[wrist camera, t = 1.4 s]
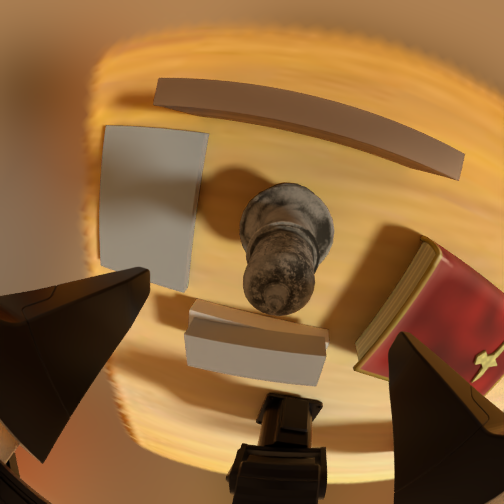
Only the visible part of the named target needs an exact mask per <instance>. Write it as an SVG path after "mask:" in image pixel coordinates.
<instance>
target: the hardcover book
mask: <svg viewBox="0 0 504 504" xmlns="http://www.w3.org/2000/svg"><path fill="white" fill-rule="evenodd" d="M420 240H422V241H423V243H422V245H421V247H420V248H419V250H418V252H417V254H416V255H415V257H414V259H413V260H412V262H411V264H410V265H409V267H408V269H407V270H406V272H405V273H404V275H403V276H402V278H401V280H400V281H399V283H398V284H397V286H396V287H395V289H394V290H393V292H392V293H391V295H390V296H389V298H388V299H387V301H386V302H385V303H384V305H383V306H382V308H381V309H380V311H379V312H378V313H377V315H376V316H375V317H374V319H373V320H372V322H371V323H370V324H369V326H368V327H367V328H366V330H365V331H364V332H363V333H362V335H361V336H360V337H359V339H358V340H357V341H356V342H355V345H356V350H357V355H358V360H359V361H358V362H357V364H356V365H355V366H354V367H353V369H354V371H357V372H360V373H363V374H366V375H369V376H373V377H376V378H379V379H383V380H386V381H389V367H388V351H389V349H390V347H391V345H392V343H393V342H394V340H395V338H396V336H397V335H398V333H399V332H401V331H403V332H409V333H411V334H412V335H414V336H415V337H416V338H417V339H418V340H420V341H421V342H422V343H423V344H424V345H425V346H427V347H428V348H429V349H430V350H431V351H433V352H434V353H435V354H436V355H437V356H438V357H440V358H441V359H442V360H443V361H444V362H445V363H447V364H448V365H449V366H450V367H451V368H452V369H454V370H455V371H456V372H457V373H458V374H459V375H460V376H462V377H463V378H464V379H465V380H466V381H467V382H468V383H469V384H470V385H472V386H473V387H474V388H475V389H476V390H477V391H478V392H480V393H481V394H482V395H483V396H485V395H486V394H487V393H488V392H489V391H490V390H491V389H492V388H493V387H494V386H495V385H496V384H497V383H498V382H499V381H500V380H501V378H502V377H503V376H504V293H503V292H502V291H501V290H499V289H498V288H497V287H496V286H494V285H493V284H492V283H491V282H489V281H488V280H487V279H486V278H484V277H483V276H482V275H480V274H479V273H478V272H476V271H475V270H474V269H472V268H471V267H470V266H468V265H467V264H466V263H464V262H463V261H462V260H460V259H459V258H457V257H456V256H454V255H453V254H452V253H450V252H449V251H447V250H446V249H444V248H443V247H441V246H440V245H438V244H437V243H435V242H434V241H432V240H431V239H429V238H428V237H426V236H423V235H422V237H421V239H420Z"/></svg>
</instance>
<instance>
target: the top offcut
mask: <svg viewBox="0 0 504 504" xmlns="http://www.w3.org/2000/svg"><path fill="white" fill-rule="evenodd" d="M184 338H185V348H186V357H187V365H188V366H191V367H196V368H200V369H204V370H209V371H214V372H218V373H223V374H229V375H234V376H240V377H245V378H251V379H258V380H264V381H271V382H279V383H287V384H296V385H306V386H317V383H318V380H319V377H320V374H321V371H322V368H323V365H324V362H325V359H326V344H325V337H322V336H312V335H303V334H295V333H287V332H279V331H272V330H265V329H258V328H251V327H245V326H239V325H233V324H227V323H221V322H215V321H210V320H205V319H199V318H194V319H193V320H192V322H191V324H190V325H189V327H188V329H187V330H186V332H185V334H184Z"/></svg>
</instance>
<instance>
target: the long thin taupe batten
mask: <svg viewBox="0 0 504 504" xmlns="http://www.w3.org/2000/svg"><path fill="white" fill-rule="evenodd" d="M153 105H156V106H160V107H165V108H169V109H173V110H177V111H181V112H185V113H189V114H193V115H197V116H202V117H210V118H218V119H226V120H232V121H239V122H245V123H251V124H257V125H262V126H267V127H272V128H277V129H282V130H287V131H291V132H296V133H300V134H304V135H308V136H312V137H316V138H320V139H324V140H327V141H331V142H335V143H338V144H342V145H345V146H348V147H352V148H355V149H358V150H361V151H364V152H367V153H370V154H373V155H376V156H379V157H382V158H385V159H388V160H391V161H393V162H396V163H399V164H401V165H404V166H406V167H409V168H412V169H416V170H421V171H425V172H429V173H432V174H436V175H440V176H444V177H447V178H451V179H454V180H457V181H459V178H460V174H461V170H462V165H463V161H464V156H465V154H464V153H462V152H460V151H458V150H456V149H454V148H453V147H451V146H449V145H447V144H445V143H443V142H441V141H439V140H437V139H434V138H432V137H430V136H428V135H426V134H424V133H421V132H419V131H417V130H415V129H412V128H410V127H407V126H405V125H403V124H400V123H398V122H395V121H392V120H390V119H387V118H384V117H382V116H379V115H376V114H373V113H370V112H367V111H364V110H361V109H358V108H355V107H352V106H349V105H345V104H342V103H338V102H335V101H331V100H327V99H323V98H320V97H316V96H311V95H307V94H303V93H298V92H293V91H288V90H283V89H278V88H272V87H266V86H260V85H254V84H246V83H238V82H230V81H219V80H207V79H189V78H159V79H158V83H157V88H156V93H155V98H154V103H153Z"/></svg>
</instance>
